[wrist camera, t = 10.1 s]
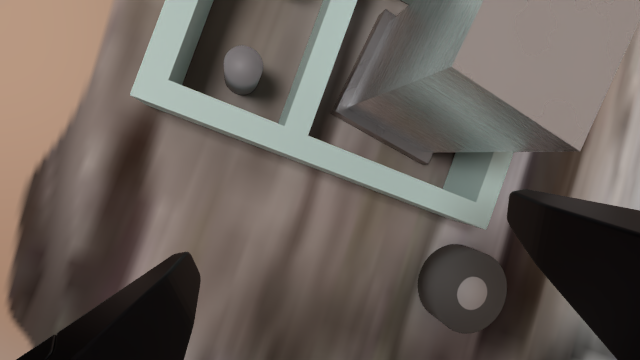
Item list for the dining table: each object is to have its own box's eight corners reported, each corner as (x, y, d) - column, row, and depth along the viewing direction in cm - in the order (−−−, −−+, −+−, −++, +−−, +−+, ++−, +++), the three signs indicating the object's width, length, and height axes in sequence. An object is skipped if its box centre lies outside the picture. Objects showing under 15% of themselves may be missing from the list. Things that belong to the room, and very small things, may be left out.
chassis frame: (449, 219, 24) (486, 229, 20) (147, 105, 19) (129, 94, 16) (513, 39, 24) (560, 21, 21) (230, -117, 19) (230, -175, 16)
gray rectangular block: (419, 163, 23) (584, 171, 12) (330, 113, 21) (431, 72, 11) (463, 71, 23) (661, 2, 13) (378, 15, 22) (522, -119, 11)
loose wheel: (470, 326, 25) (492, 342, 23) (407, 308, 23) (424, 323, 21) (494, 256, 25) (518, 265, 23) (433, 234, 24) (452, 242, 22)
